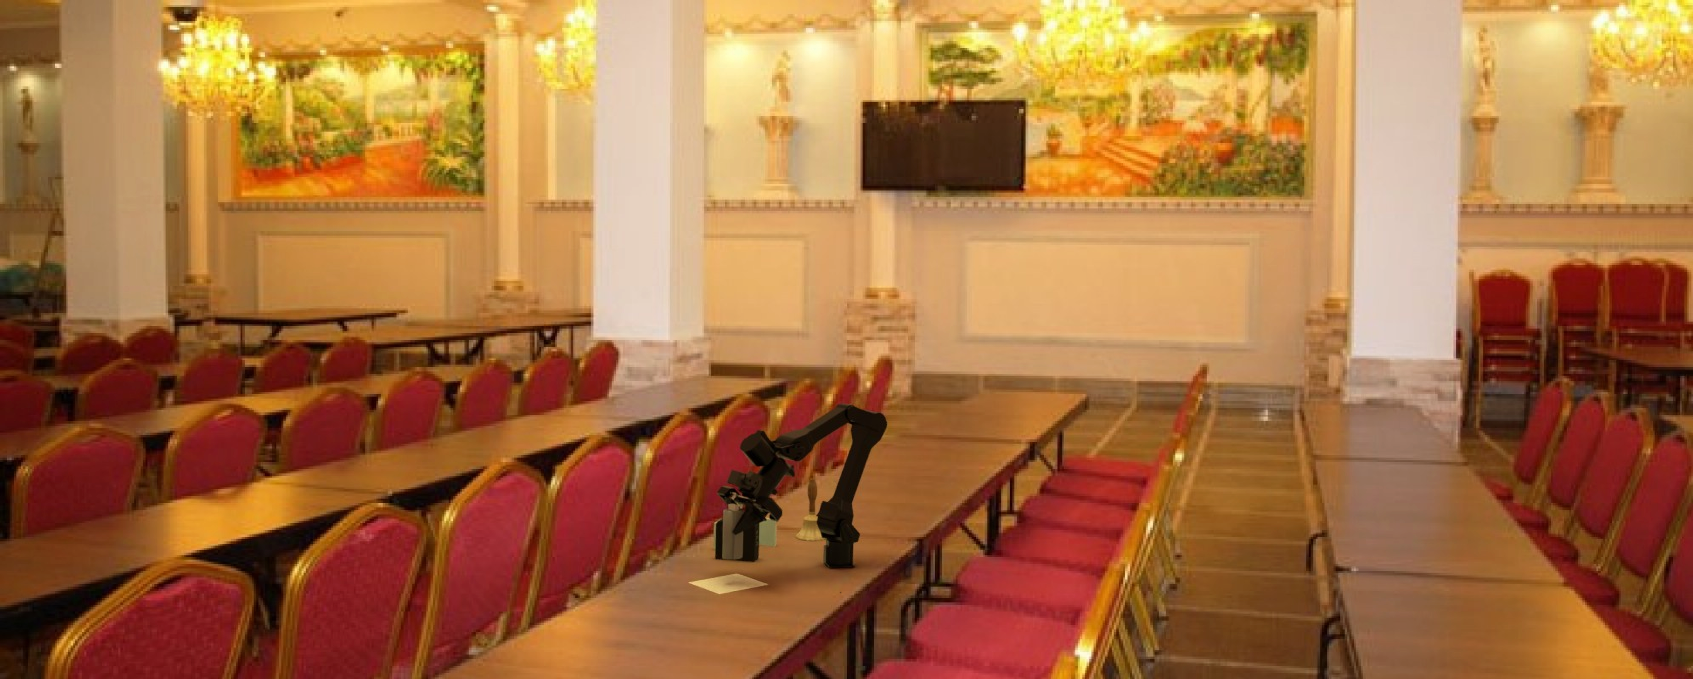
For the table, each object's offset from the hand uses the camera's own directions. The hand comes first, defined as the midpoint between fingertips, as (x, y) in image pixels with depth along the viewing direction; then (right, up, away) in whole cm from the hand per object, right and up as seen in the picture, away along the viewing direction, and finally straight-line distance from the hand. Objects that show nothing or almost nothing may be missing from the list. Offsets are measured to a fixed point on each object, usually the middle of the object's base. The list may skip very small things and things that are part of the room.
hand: (728, 531), depth 307 cm
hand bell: (+18, -9, +52) cm, 56 cm away
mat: (0, -12, +1) cm, 13 cm away
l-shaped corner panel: (+1, -10, +39) cm, 40 cm away
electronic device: (0, -11, +25) cm, 27 cm away
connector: (+1, -6, +1) cm, 6 cm away
